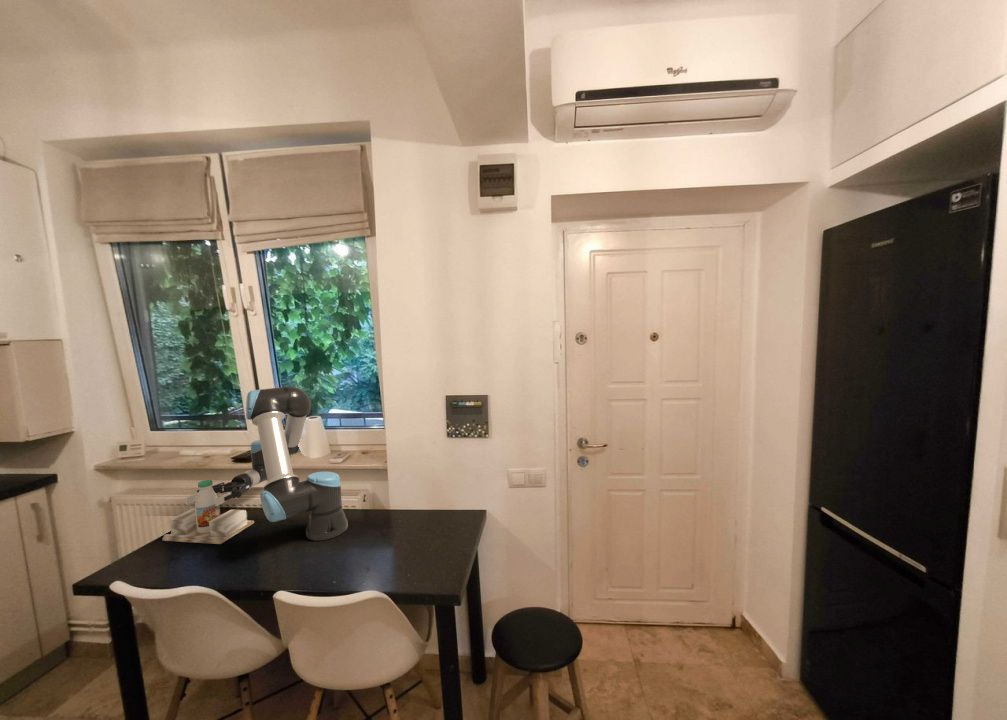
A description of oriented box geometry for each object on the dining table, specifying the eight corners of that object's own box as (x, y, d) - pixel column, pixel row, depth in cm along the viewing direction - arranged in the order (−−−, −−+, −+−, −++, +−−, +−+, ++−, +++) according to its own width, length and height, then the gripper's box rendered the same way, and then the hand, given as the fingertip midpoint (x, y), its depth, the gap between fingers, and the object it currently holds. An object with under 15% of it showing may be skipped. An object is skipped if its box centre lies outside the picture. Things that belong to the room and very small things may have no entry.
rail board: (254, 522, 158) (252, 506, 158) (220, 544, 142) (218, 526, 142) (201, 520, 162) (199, 504, 162) (162, 540, 146) (160, 523, 146)
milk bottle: (192, 533, 149) (187, 485, 147) (210, 524, 156) (206, 477, 155) (208, 535, 147) (204, 485, 146) (226, 525, 155) (222, 478, 154)
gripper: (270, 489, 168) (229, 512, 147) (222, 488, 172) (175, 510, 151) (269, 473, 167) (227, 493, 146) (220, 472, 171) (173, 491, 150)
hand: (200, 502), depth 149 cm, fingers open, 13 cm apart
